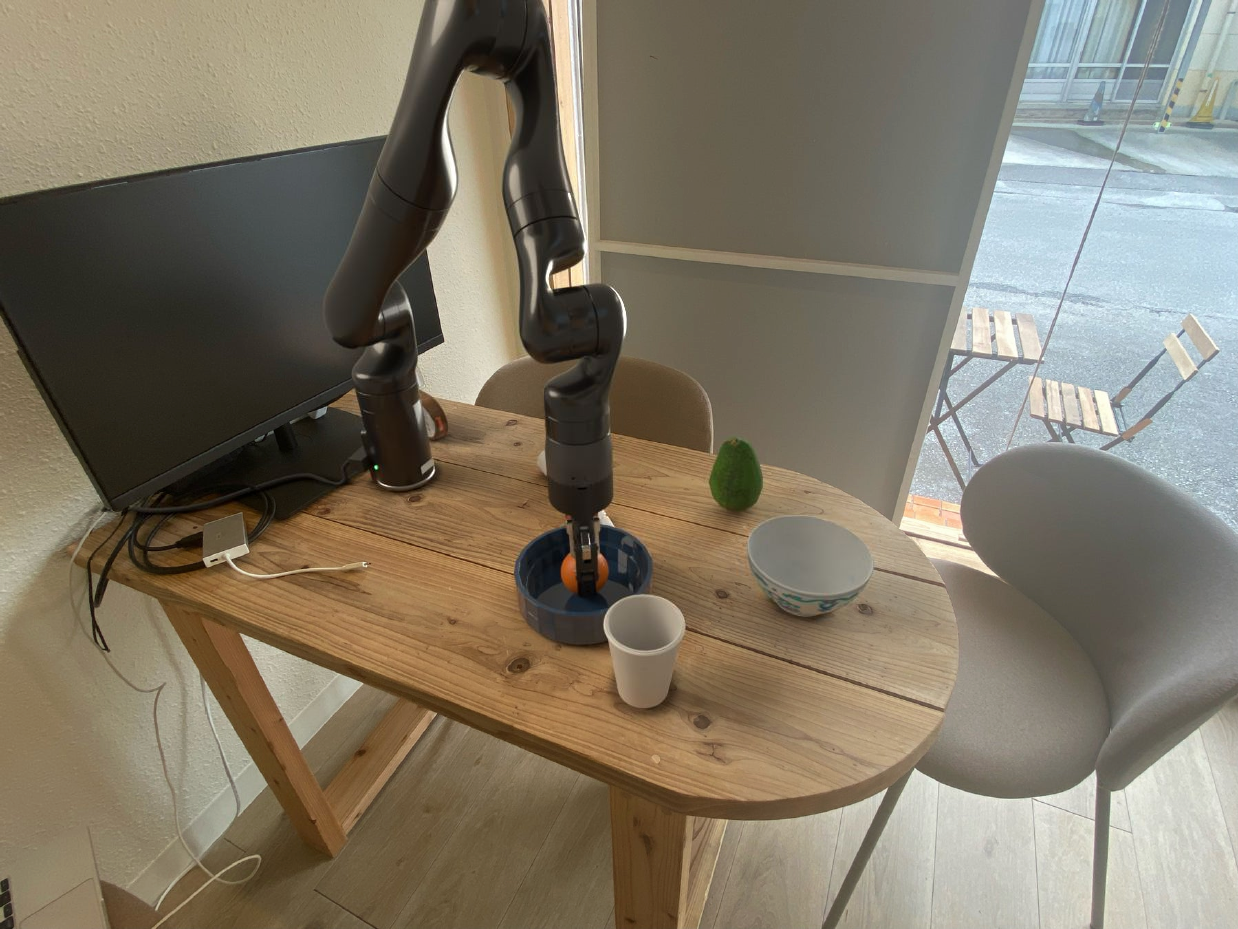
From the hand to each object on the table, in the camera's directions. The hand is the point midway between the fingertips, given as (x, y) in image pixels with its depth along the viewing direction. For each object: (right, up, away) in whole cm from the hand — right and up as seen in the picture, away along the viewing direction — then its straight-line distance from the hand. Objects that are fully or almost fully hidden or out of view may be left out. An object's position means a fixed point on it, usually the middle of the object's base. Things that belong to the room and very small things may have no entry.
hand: (585, 576), depth 80 cm
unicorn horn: (-2, +8, +20) cm, 22 cm away
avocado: (+22, +7, +18) cm, 30 cm away
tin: (-33, +20, +40) cm, 55 cm away
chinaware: (+28, -3, +2) cm, 28 cm away
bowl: (0, -3, +2) cm, 3 cm away
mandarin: (0, +1, 0) cm, 1 cm away
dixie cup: (+7, -11, -10) cm, 16 cm away
